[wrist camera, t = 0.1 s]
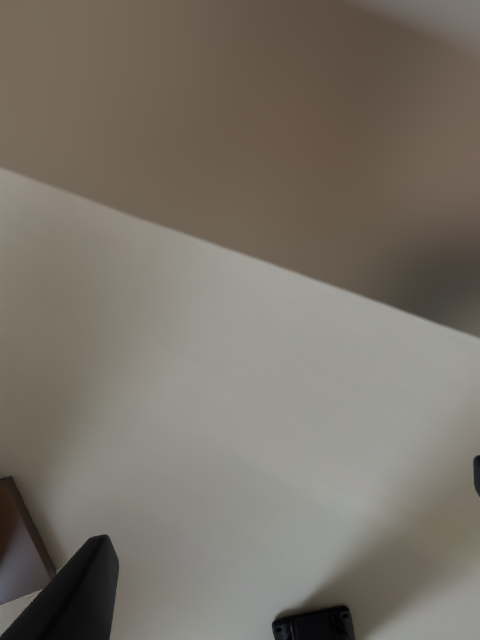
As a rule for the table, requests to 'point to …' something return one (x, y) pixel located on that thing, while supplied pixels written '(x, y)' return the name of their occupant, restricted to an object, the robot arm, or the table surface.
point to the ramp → (20, 548)
